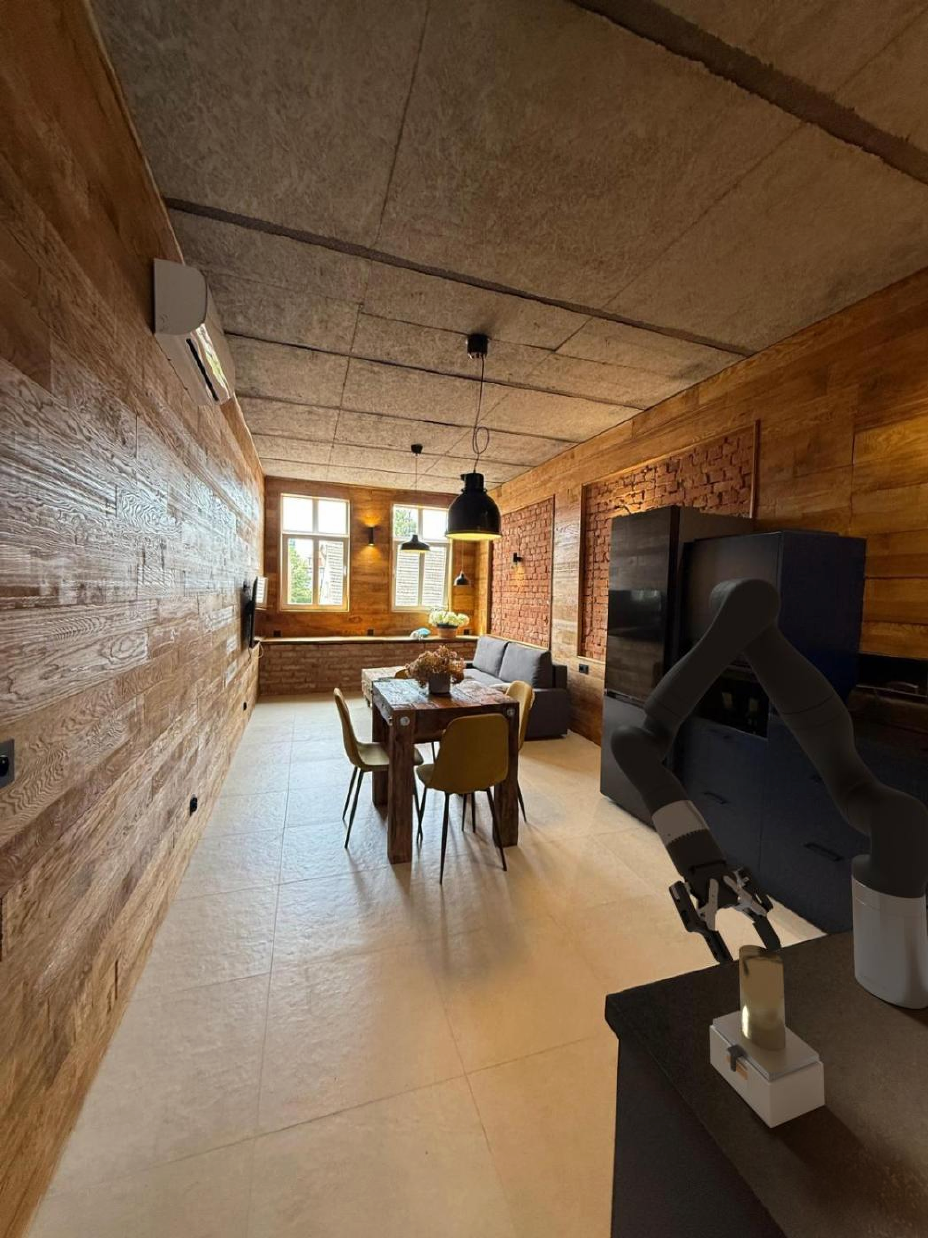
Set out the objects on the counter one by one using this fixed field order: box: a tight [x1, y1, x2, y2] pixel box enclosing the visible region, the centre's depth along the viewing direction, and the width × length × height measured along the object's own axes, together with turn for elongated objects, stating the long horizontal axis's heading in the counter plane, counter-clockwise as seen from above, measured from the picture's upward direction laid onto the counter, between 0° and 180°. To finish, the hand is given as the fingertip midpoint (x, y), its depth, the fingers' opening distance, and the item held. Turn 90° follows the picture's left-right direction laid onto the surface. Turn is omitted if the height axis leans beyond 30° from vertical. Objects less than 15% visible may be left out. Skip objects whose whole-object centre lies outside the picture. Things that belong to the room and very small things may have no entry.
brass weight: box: [738, 944, 786, 1051], centre depth 63 cm, size 5×5×10 cm
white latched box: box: [709, 1024, 825, 1129], centre depth 62 cm, size 9×9×5 cm
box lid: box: [712, 1009, 820, 1080], centre depth 62 cm, size 10×8×4 cm
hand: (752, 957), depth 64 cm, fingers open, 8 cm apart
